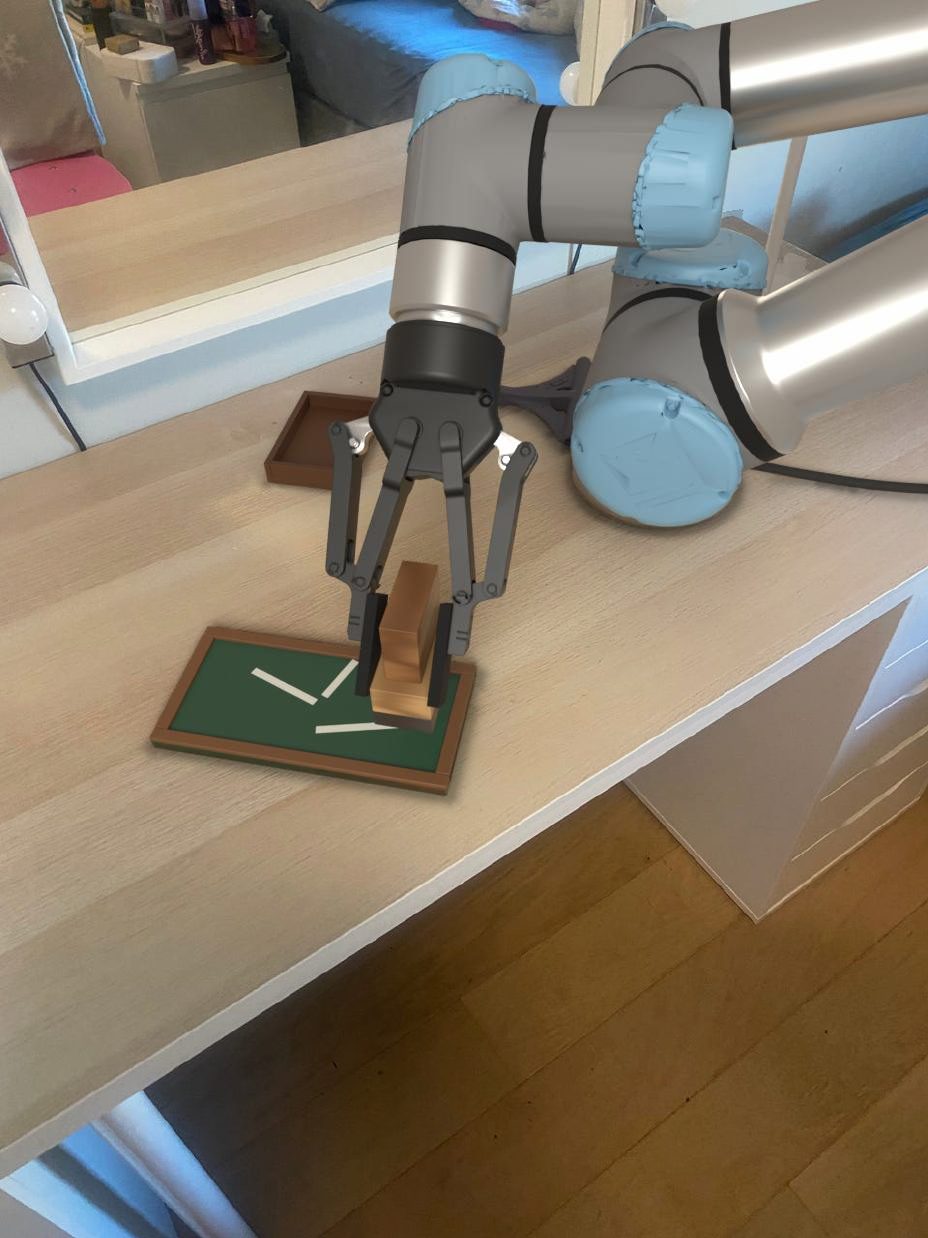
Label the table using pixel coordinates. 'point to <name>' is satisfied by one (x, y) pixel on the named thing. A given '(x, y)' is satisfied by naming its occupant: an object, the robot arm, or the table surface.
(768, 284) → the flag stand
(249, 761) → the chalkboard
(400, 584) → the eraser
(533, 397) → the dark squeegee
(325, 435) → the shallow brown tray
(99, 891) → the table surface
